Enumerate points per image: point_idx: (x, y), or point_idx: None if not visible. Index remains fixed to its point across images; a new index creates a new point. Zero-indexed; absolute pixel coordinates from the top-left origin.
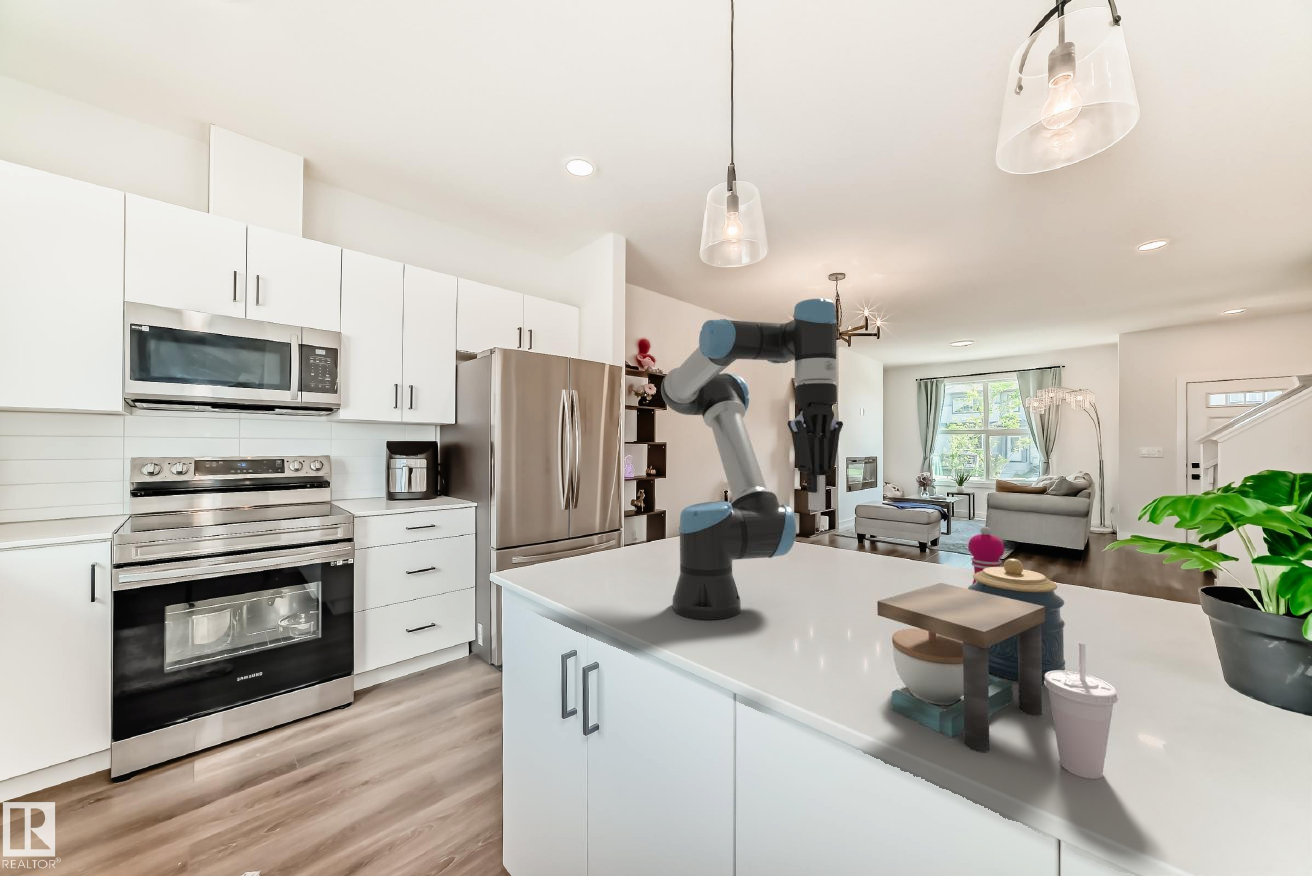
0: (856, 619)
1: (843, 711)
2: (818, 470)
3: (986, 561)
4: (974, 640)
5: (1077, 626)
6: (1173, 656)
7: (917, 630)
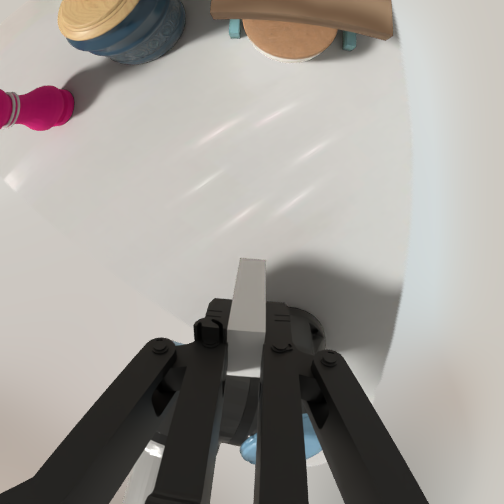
0: (152, 208)
1: (388, 81)
2: (267, 352)
3: (11, 100)
4: None
5: (10, 77)
6: (33, 8)
7: (270, 40)
